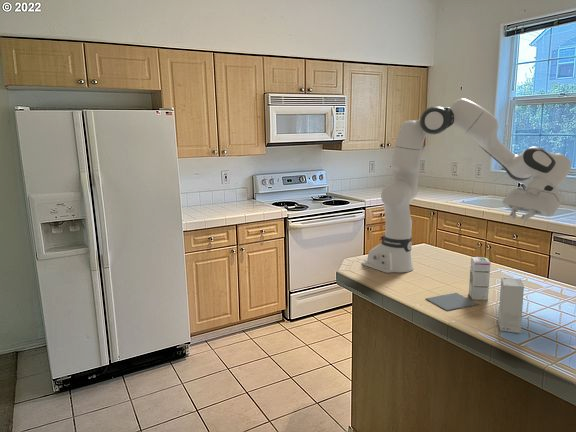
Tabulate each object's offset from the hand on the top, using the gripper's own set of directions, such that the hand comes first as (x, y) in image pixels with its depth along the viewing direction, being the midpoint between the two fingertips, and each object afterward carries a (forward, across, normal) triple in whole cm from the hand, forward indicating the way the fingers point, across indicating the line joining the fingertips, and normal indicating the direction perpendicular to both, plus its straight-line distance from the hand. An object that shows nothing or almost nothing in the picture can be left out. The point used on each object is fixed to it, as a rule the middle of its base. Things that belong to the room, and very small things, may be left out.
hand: (517, 218), depth 162 cm
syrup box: (+32, +2, +7) cm, 33 cm away
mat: (+41, +2, -2) cm, 41 cm away
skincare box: (+39, +24, 0) cm, 46 cm away
